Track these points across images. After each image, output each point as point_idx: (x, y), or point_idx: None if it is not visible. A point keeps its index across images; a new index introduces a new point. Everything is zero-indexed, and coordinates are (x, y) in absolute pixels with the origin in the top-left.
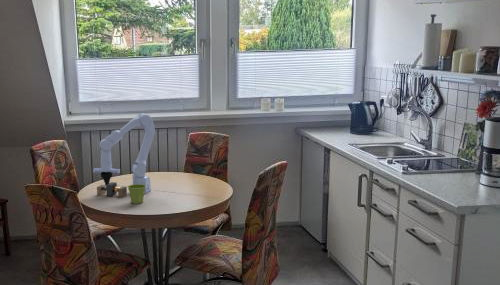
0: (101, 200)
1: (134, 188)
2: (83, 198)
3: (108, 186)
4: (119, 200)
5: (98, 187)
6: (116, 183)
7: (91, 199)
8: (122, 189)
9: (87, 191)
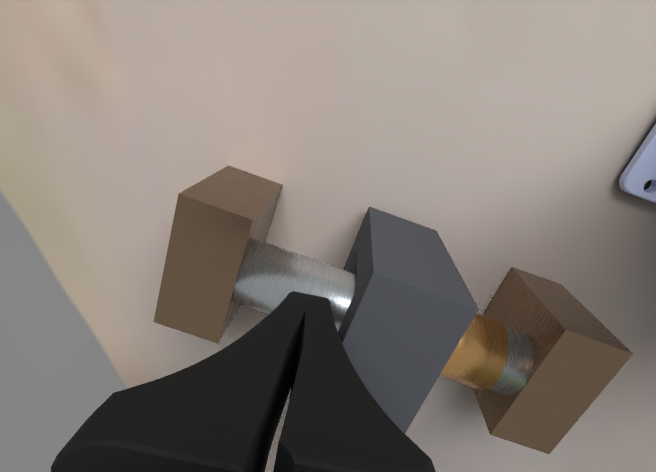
0: None
1: None
2: (115, 366)
3: None
4: (477, 457)
5: (184, 328)
6: (470, 307)
7: None
8: (551, 436)
9: (10, 80)
